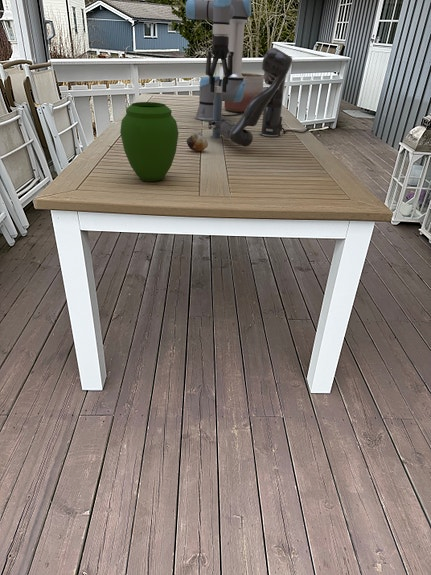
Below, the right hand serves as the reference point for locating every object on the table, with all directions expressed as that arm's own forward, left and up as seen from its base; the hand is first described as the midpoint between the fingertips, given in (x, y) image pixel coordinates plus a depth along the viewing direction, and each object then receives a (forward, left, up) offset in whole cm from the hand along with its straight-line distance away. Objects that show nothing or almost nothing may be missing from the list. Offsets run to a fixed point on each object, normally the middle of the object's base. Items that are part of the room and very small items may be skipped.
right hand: (215, 122), depth 207 cm
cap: (0, +3, +16) cm, 16 cm away
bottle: (0, +3, -7) cm, 7 cm away
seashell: (+19, +29, -7) cm, 35 cm away
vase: (+47, +63, -7) cm, 79 cm away
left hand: (0, +3, +14) cm, 14 cm away
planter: (-47, -72, -7) cm, 86 cm away
